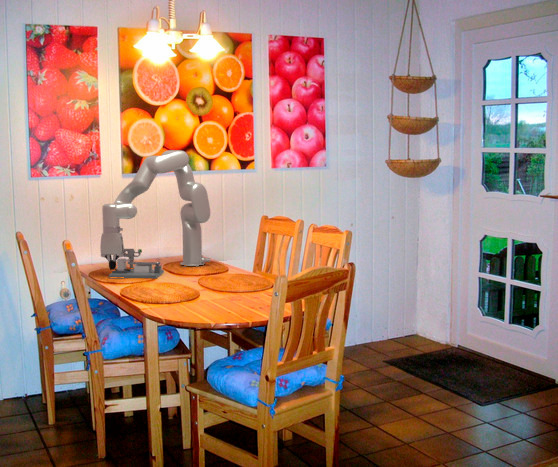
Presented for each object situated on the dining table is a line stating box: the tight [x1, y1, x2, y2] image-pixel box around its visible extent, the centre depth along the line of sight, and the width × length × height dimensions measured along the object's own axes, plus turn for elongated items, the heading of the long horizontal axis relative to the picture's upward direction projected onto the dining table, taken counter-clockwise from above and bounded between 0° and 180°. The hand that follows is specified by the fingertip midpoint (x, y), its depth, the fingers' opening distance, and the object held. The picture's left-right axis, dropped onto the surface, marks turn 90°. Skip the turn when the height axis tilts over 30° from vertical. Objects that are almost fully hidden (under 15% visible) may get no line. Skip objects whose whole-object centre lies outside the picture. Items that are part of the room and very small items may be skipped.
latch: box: [116, 258, 130, 271], centre depth 322 cm, size 5×4×6 cm
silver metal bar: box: [127, 261, 161, 266], centre depth 322 cm, size 15×3×2 cm, turn 87°
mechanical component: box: [122, 248, 143, 269], centre depth 339 cm, size 3×10×10 cm, turn 89°
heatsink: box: [133, 264, 153, 274], centre depth 322 cm, size 7×7×3 cm
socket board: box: [108, 264, 165, 280], centre depth 322 cm, size 22×16×4 cm
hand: (112, 269), depth 323 cm, fingers closed
